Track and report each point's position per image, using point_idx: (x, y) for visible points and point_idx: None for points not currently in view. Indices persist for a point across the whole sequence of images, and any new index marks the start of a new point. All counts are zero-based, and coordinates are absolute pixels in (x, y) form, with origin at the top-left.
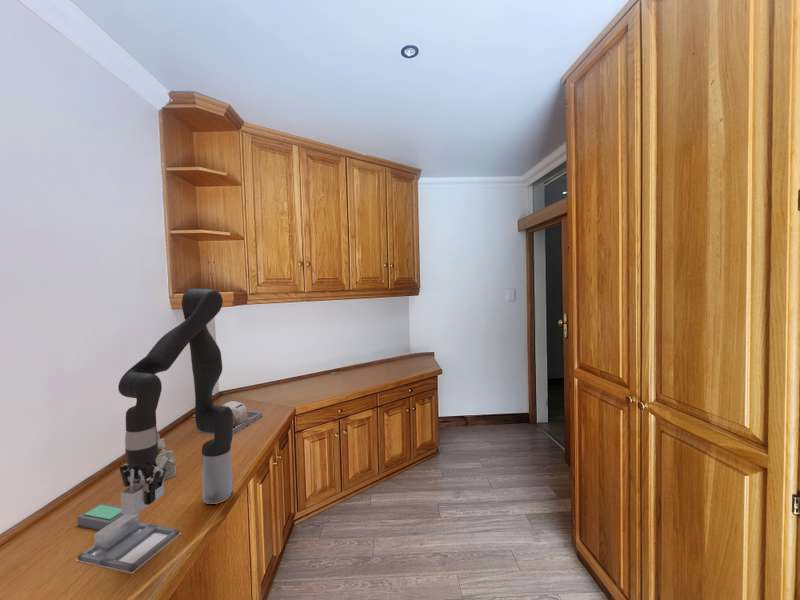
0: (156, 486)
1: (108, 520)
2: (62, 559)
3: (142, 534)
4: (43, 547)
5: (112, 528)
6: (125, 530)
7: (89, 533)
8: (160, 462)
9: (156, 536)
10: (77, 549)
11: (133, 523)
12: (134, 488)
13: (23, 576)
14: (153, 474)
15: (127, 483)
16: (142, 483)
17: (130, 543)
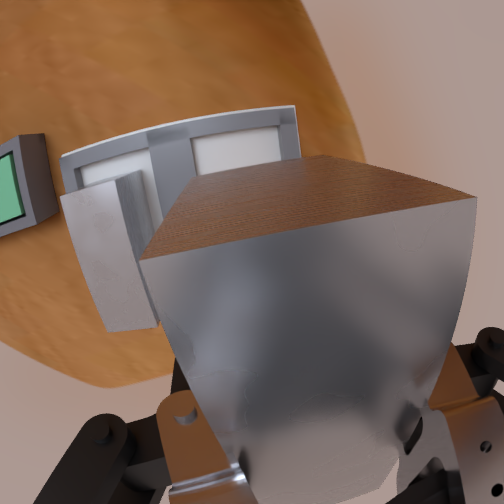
0: (499, 394)
1: (22, 218)
2: (70, 314)
3: (181, 184)
4: (4, 304)
5: (127, 293)
6: (140, 237)
7: (13, 232)
8: None
9: (222, 152)
10: (55, 282)
11: (130, 203)
12: (329, 490)
13: (74, 363)
14: (497, 463)
15: (161, 492)
16: (402, 489)
17: None
